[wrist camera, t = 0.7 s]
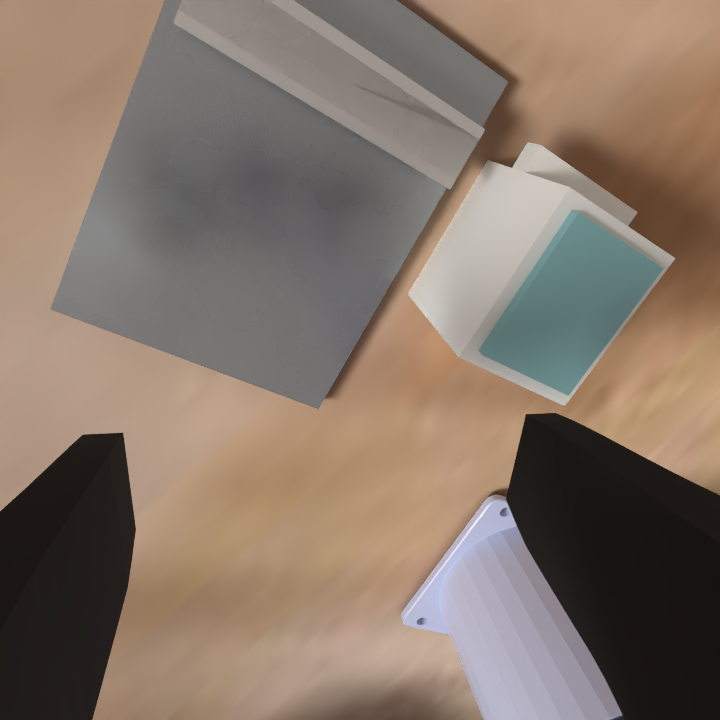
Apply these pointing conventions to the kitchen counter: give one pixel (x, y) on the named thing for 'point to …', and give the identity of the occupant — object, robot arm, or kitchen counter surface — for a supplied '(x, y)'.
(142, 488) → the kitchen counter surface
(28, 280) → the kitchen counter surface
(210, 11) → the rail
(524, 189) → the block
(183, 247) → the plate
